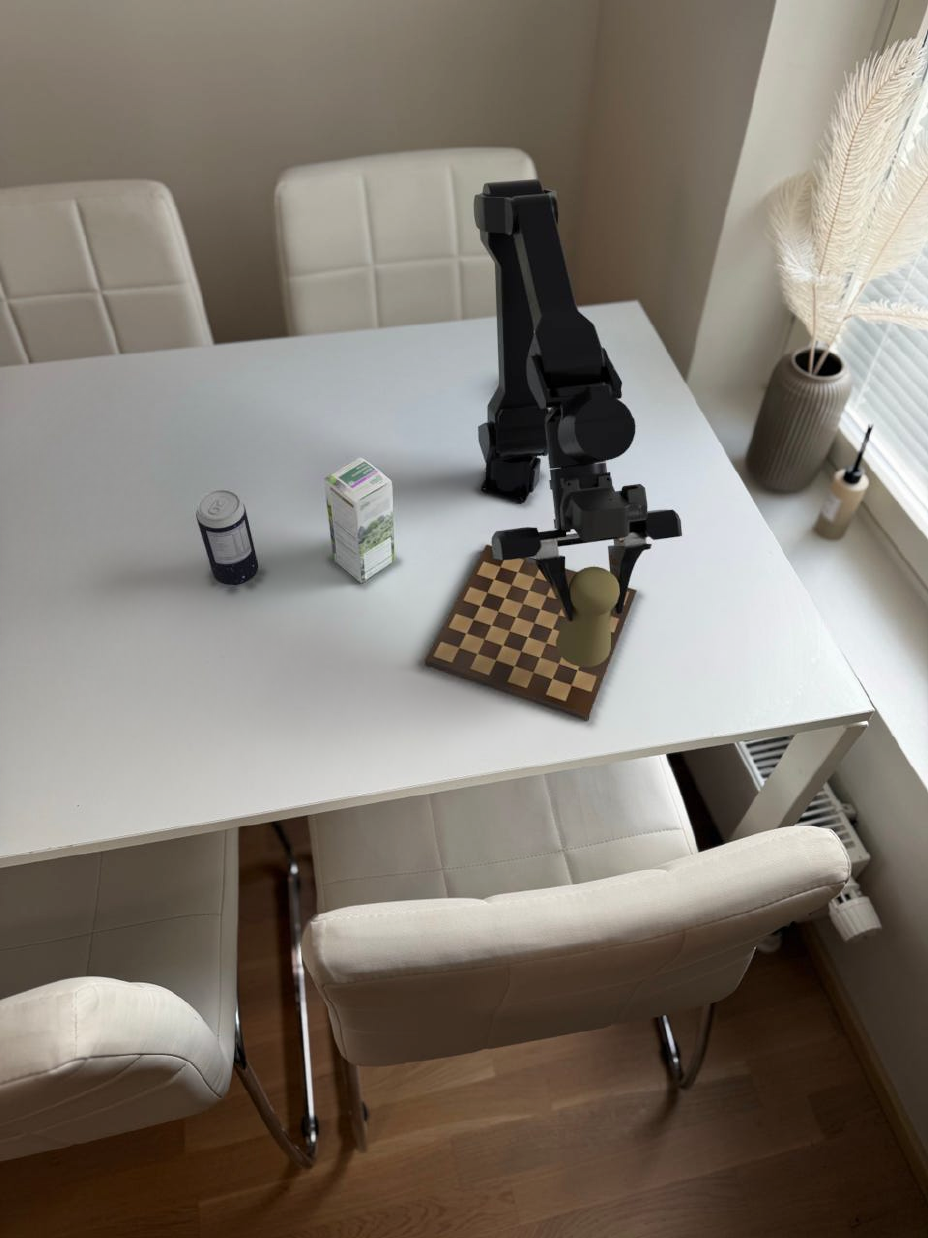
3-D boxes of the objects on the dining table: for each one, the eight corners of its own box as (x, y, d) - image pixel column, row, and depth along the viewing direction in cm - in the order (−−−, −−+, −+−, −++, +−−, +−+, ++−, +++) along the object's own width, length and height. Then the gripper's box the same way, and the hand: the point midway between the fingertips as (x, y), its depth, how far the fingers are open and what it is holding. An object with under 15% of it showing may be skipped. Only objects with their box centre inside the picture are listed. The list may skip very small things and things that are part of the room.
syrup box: (366, 538, 120) (359, 453, 109) (397, 562, 118) (392, 478, 106) (332, 560, 118) (321, 476, 106) (363, 586, 115) (354, 502, 104)
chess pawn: (597, 675, 99) (612, 611, 90) (546, 653, 101) (556, 588, 92) (619, 636, 102) (635, 571, 94) (569, 615, 104) (581, 549, 95)
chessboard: (424, 665, 108) (424, 659, 107) (486, 549, 119) (486, 543, 118) (588, 721, 103) (589, 715, 102) (635, 595, 115) (637, 589, 114)
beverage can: (267, 563, 117) (252, 494, 108) (246, 595, 114) (228, 526, 104) (227, 551, 118) (209, 482, 109) (205, 583, 115) (184, 514, 106)
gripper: (503, 473, 84) (523, 641, 86) (696, 449, 87) (711, 612, 89) (482, 478, 95) (500, 627, 97) (654, 457, 98) (668, 602, 100)
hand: (594, 617), depth 96 cm, fingers closed on chess pawn, 5 cm apart
